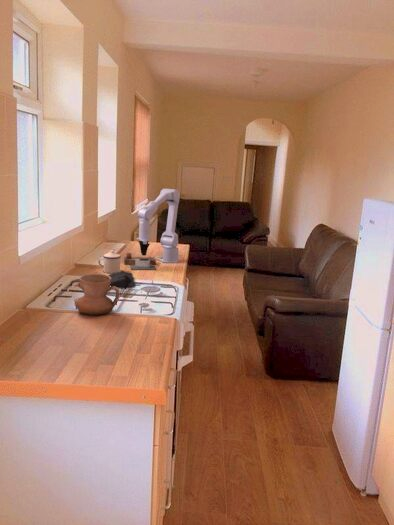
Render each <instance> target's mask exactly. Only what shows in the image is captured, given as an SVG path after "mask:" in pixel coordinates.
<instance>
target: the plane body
mask: <svg viewBox="0 0 394 525" xmlns="http://www.w3.org/2000/svg"><path fill="white" fill-rule="evenodd" d="M125 254H126V255H125V256H124V257H123V263H124V266H130V265H135V259H140V258H149V260H150V265H155V266H156V264H157V261H156V258H155V257H154V256H153V257H152V256H148V257H147V256H132V253H131V252H127V253H125Z"/></svg>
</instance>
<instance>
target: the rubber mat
mask: <svg viewBox="0 0 394 525" xmlns="http://www.w3.org/2000/svg"><path fill="white" fill-rule="evenodd" d="M129 267H130V270H131V271H157V267H156V265H150V268H135V265H129Z"/></svg>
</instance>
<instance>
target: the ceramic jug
mask: <svg viewBox="0 0 394 525" xmlns="http://www.w3.org/2000/svg"><path fill="white" fill-rule="evenodd" d="M110 284H111V277H110V276H108V275H107V274H102V273H90V274H89V273H88V274H83V275H81V276H80V277H79V282H75V283H73V287H74V288H76V287H77V288H79V289H81V290H82V292H83V296H80V298H78V299H77V300H75V301H74V304H75V306H76V309H77V310H78V312H80V313H83V314H85V315H91V316H97V315H99V316H100V315H104V314H107V313H109V312H111V310H113V308H114V307H115V305H116V303H117V301H118V300H119V297H120V294H121V293H120V288H117V287H115V286H111V287H110ZM112 290H113V291H115V298H114V299H113V300H112V299H111V298H110V297H109V296H107V293H108V292H110V291H112Z"/></svg>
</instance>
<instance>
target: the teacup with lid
mask: <svg viewBox="0 0 394 525" xmlns="http://www.w3.org/2000/svg"><path fill="white" fill-rule="evenodd" d="M101 260H103V265H102V264H101ZM97 261H98V265H99V266H100V267H101V268H103V273H106V274H109V275H110V274H113V273H117V272H120V271H121V255H120V254H119V253H117V252H116V251H115V250H110V251H109V252H107V253H105V254H103V256H102V257H100V258H99V259H98V260H97Z"/></svg>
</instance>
